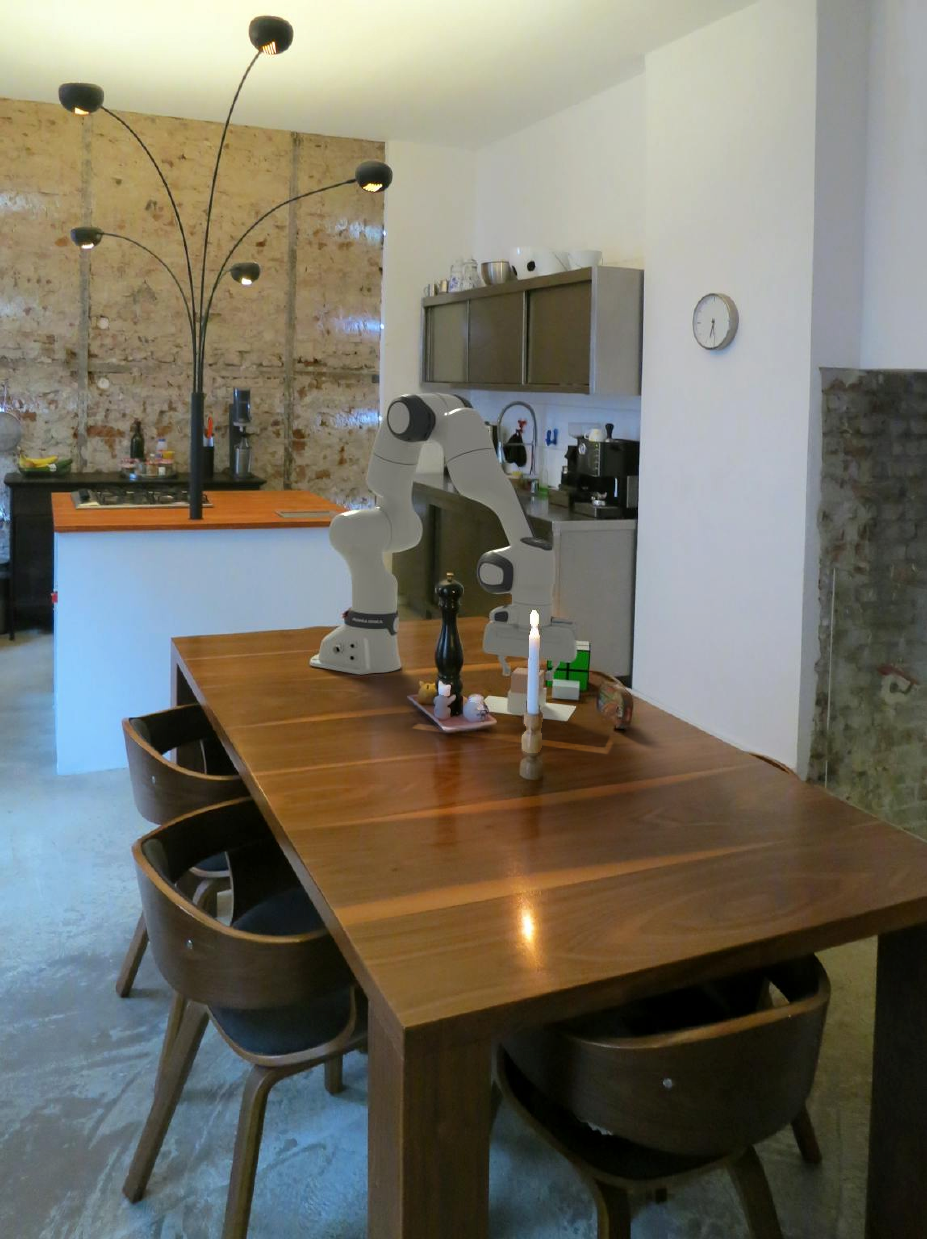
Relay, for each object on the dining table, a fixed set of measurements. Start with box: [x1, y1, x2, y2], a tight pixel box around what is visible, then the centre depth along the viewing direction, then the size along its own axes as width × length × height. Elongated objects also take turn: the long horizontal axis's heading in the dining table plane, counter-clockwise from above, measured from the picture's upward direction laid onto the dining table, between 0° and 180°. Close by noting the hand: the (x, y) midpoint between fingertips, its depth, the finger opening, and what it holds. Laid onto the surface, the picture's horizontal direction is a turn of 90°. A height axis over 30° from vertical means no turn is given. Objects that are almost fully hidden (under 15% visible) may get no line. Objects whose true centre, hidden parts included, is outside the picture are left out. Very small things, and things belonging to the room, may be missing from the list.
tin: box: [596, 680, 634, 730], centre depth 231 cm, size 15×3×8 cm, turn 13°
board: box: [483, 695, 577, 722], centre depth 237 cm, size 20×12×1 cm, turn 75°
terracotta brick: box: [509, 667, 545, 694], centre depth 236 cm, size 6×6×4 cm
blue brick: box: [551, 679, 580, 701], centre depth 248 cm, size 6×6×4 cm
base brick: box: [507, 687, 547, 712], centre depth 236 cm, size 7×7×4 cm
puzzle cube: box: [545, 640, 592, 692], centre depth 260 cm, size 10×10×10 cm
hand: (527, 677), depth 235 cm, fingers open, 8 cm apart
